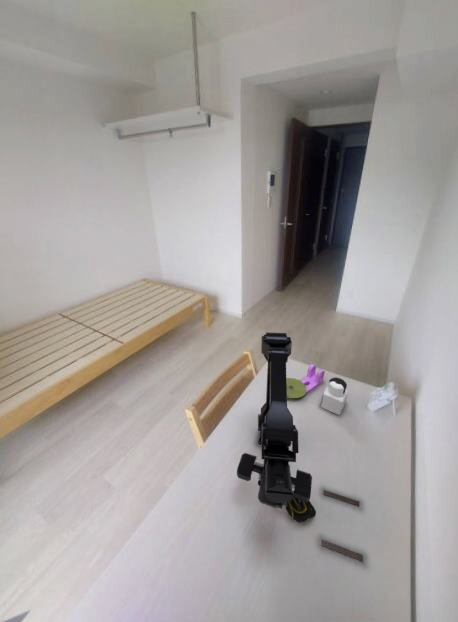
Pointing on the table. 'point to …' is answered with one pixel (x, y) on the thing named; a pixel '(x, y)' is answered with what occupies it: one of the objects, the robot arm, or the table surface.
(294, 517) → the tape measure
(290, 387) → the olive green disc
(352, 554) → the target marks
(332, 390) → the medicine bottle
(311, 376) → the bracket
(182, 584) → the table surface
